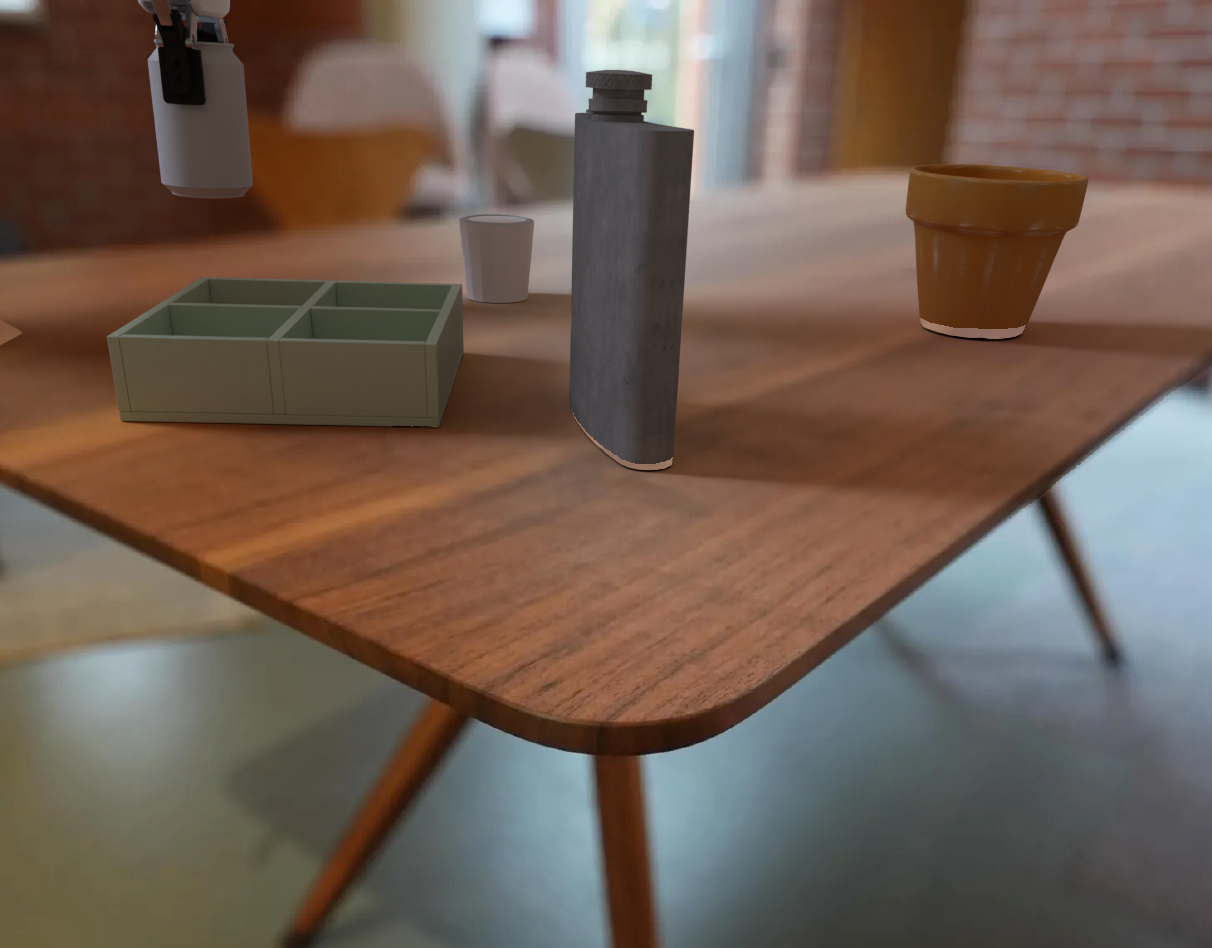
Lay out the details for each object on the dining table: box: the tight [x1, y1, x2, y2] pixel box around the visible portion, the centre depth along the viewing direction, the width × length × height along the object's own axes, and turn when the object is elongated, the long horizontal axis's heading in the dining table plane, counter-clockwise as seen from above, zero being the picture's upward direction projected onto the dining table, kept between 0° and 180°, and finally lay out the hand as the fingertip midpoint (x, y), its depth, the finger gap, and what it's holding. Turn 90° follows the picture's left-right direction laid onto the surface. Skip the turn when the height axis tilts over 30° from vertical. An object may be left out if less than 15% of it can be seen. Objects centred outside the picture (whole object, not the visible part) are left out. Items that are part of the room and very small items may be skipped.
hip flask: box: [568, 69, 695, 464], centre depth 64 cm, size 16×4×20 cm, turn 14°
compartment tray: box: [106, 276, 465, 428], centre depth 75 cm, size 19×19×5 cm
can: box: [147, 38, 254, 199], centre depth 94 cm, size 8×8×12 cm
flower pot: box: [905, 163, 1089, 329], centre depth 95 cm, size 14×14×13 cm
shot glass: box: [458, 213, 535, 304], centre depth 103 cm, size 7×7×7 cm
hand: (199, 101), depth 93 cm, fingers closed on can, 7 cm apart
